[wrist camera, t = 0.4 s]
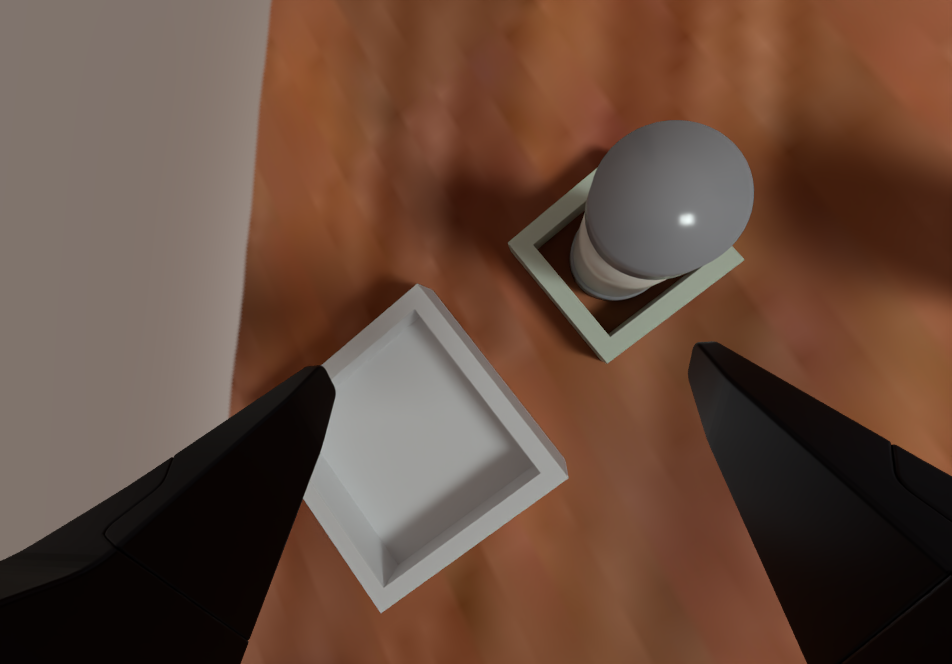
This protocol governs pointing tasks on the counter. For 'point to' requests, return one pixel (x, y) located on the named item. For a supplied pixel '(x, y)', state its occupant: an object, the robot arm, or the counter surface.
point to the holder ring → (572, 307)
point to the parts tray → (422, 449)
